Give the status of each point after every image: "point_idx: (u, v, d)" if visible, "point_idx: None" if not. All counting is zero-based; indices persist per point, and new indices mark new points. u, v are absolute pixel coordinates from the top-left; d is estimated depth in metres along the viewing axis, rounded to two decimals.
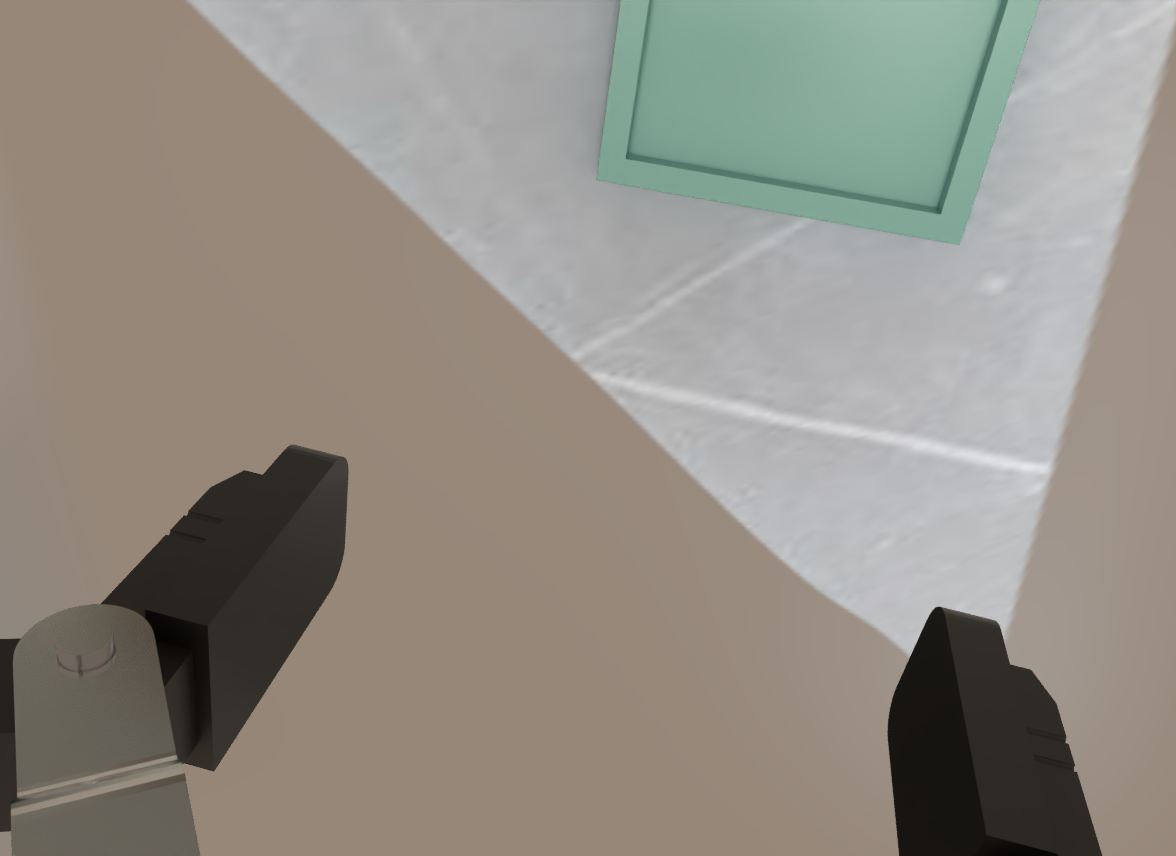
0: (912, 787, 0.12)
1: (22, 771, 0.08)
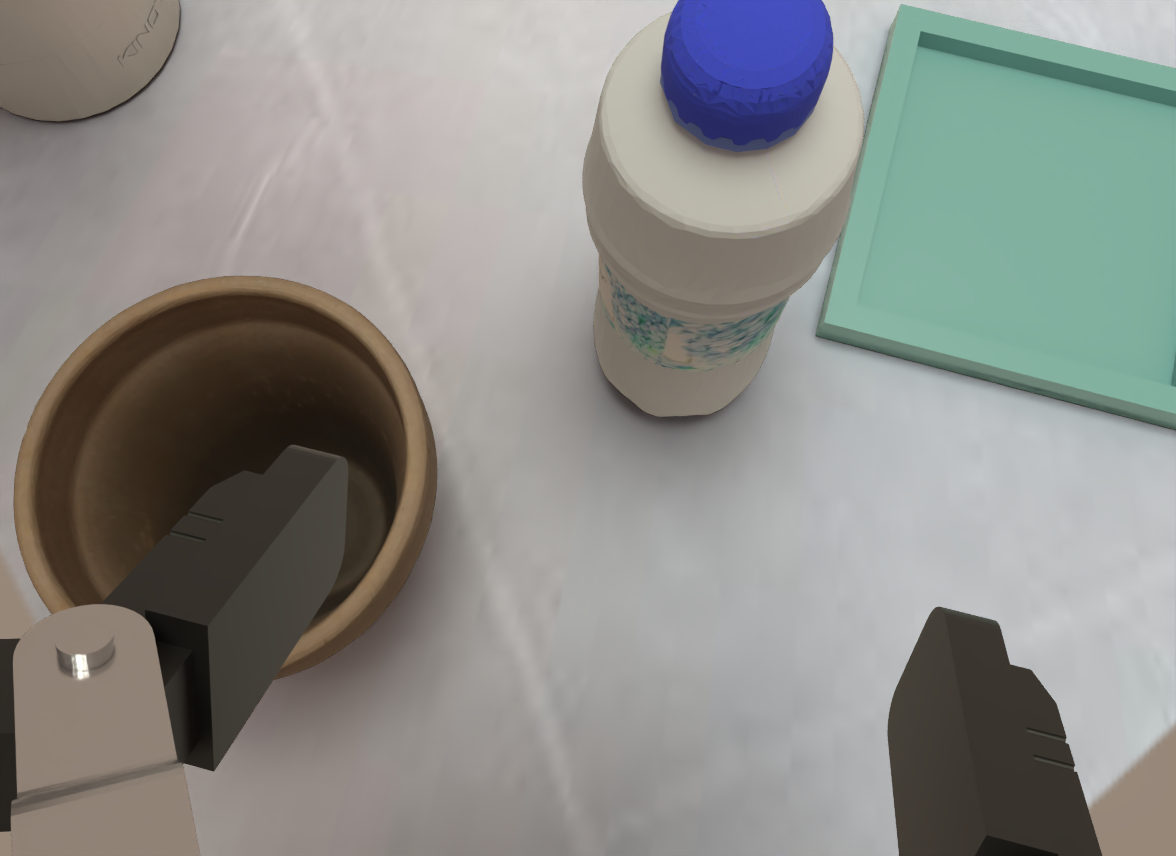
0: (912, 787, 0.12)
1: (21, 771, 0.08)
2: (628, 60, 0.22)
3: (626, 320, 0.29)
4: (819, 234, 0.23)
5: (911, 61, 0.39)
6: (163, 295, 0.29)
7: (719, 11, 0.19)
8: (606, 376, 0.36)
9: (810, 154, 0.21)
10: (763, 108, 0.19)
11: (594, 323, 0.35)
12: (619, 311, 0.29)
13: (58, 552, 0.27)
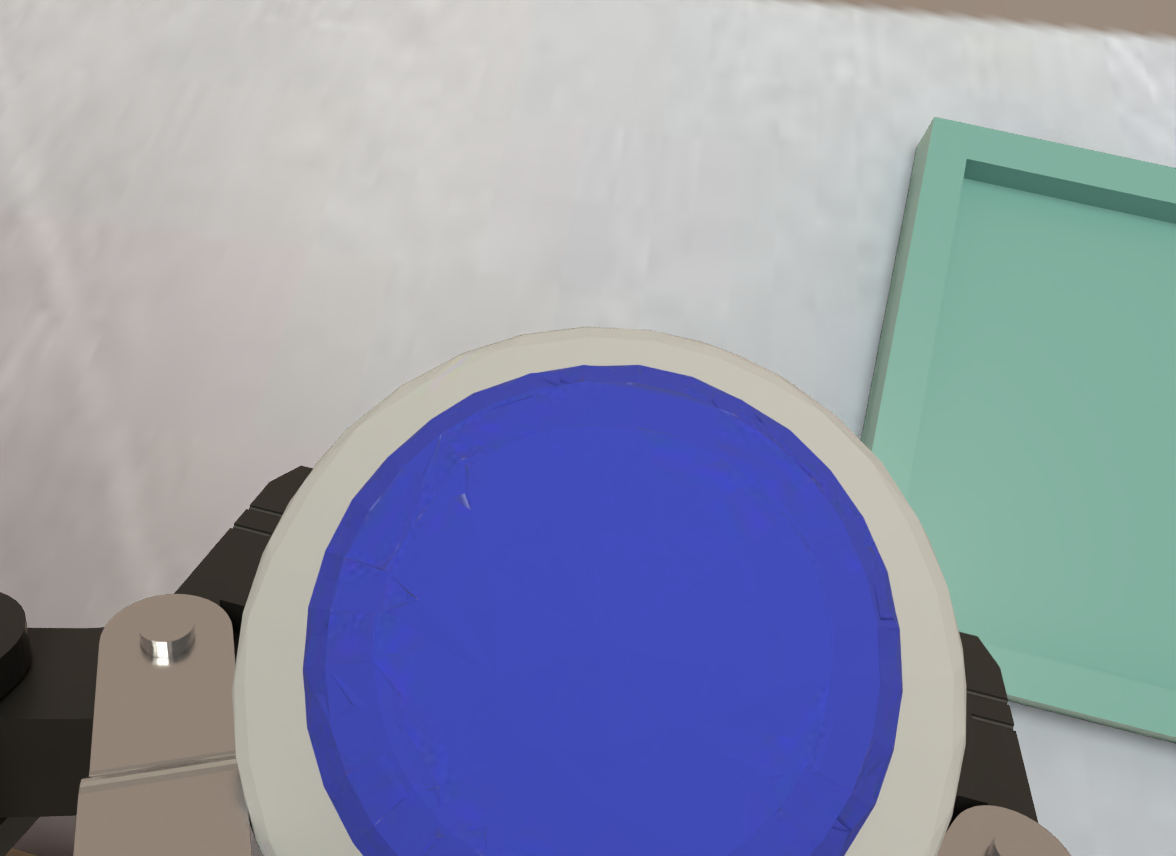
0: None
1: (96, 751, 0.09)
2: (309, 526, 0.08)
3: None
4: None
5: (954, 207, 0.25)
6: None
7: (461, 627, 0.05)
8: None
9: None
10: None
11: None
12: None
13: None
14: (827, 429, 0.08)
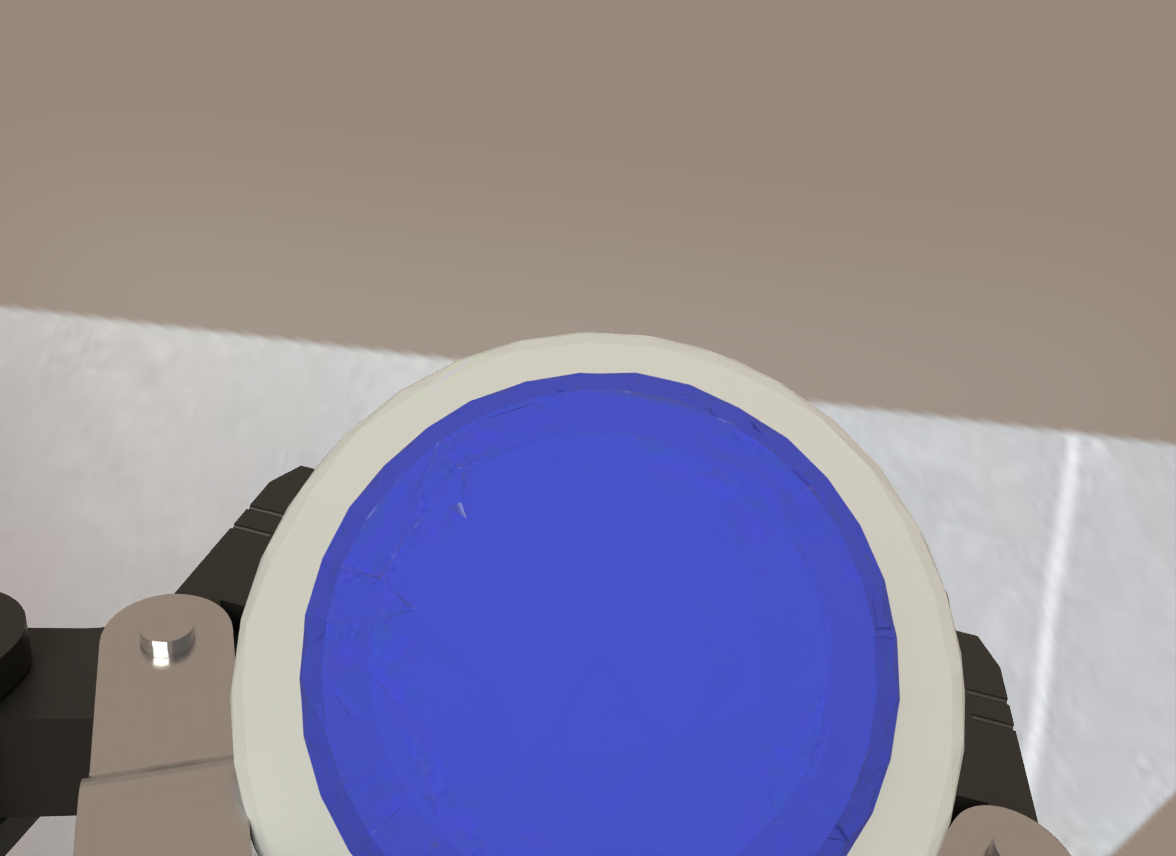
0: None
1: (96, 750, 0.09)
2: (307, 532, 0.08)
3: None
4: None
5: None
6: None
7: (454, 638, 0.05)
8: None
9: None
10: None
11: None
12: None
13: None
14: (825, 434, 0.08)
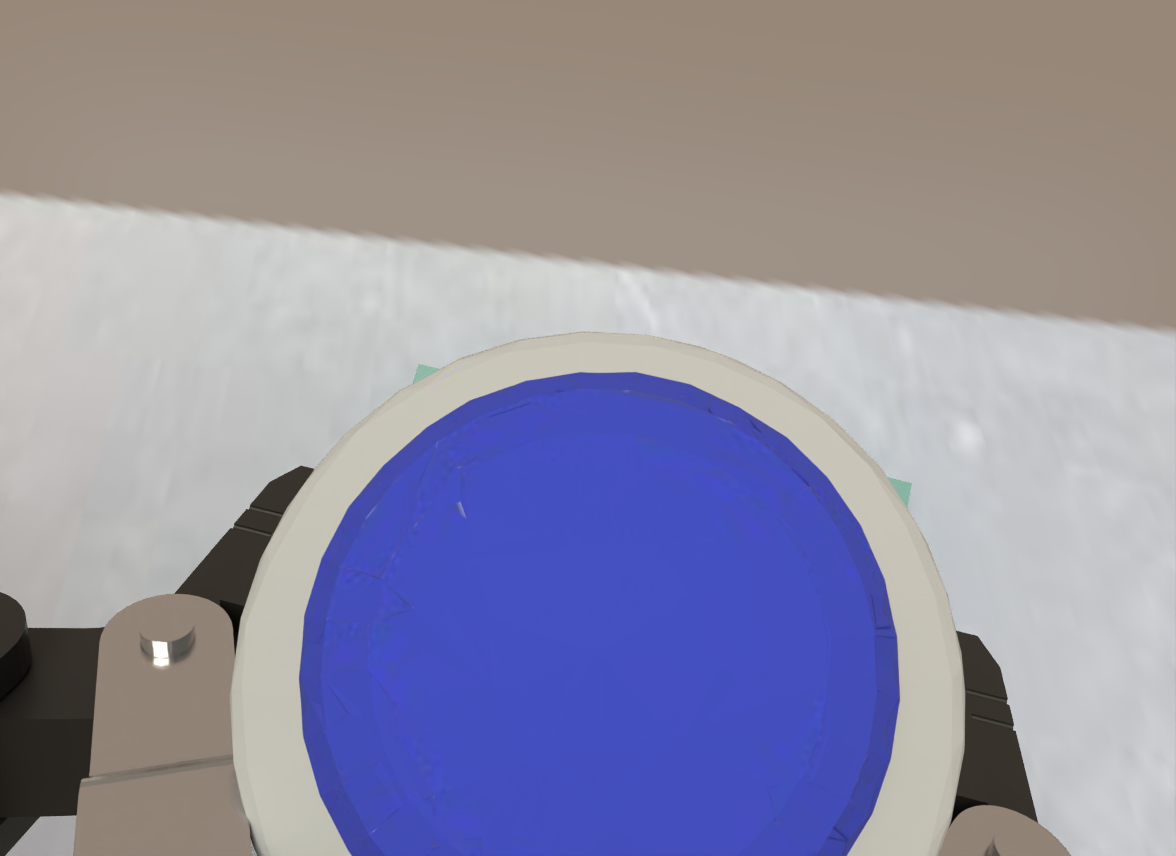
0: None
1: (96, 750, 0.09)
2: (307, 531, 0.08)
3: None
4: None
5: None
6: None
7: (454, 636, 0.05)
8: None
9: None
10: None
11: None
12: None
13: None
14: (825, 434, 0.08)
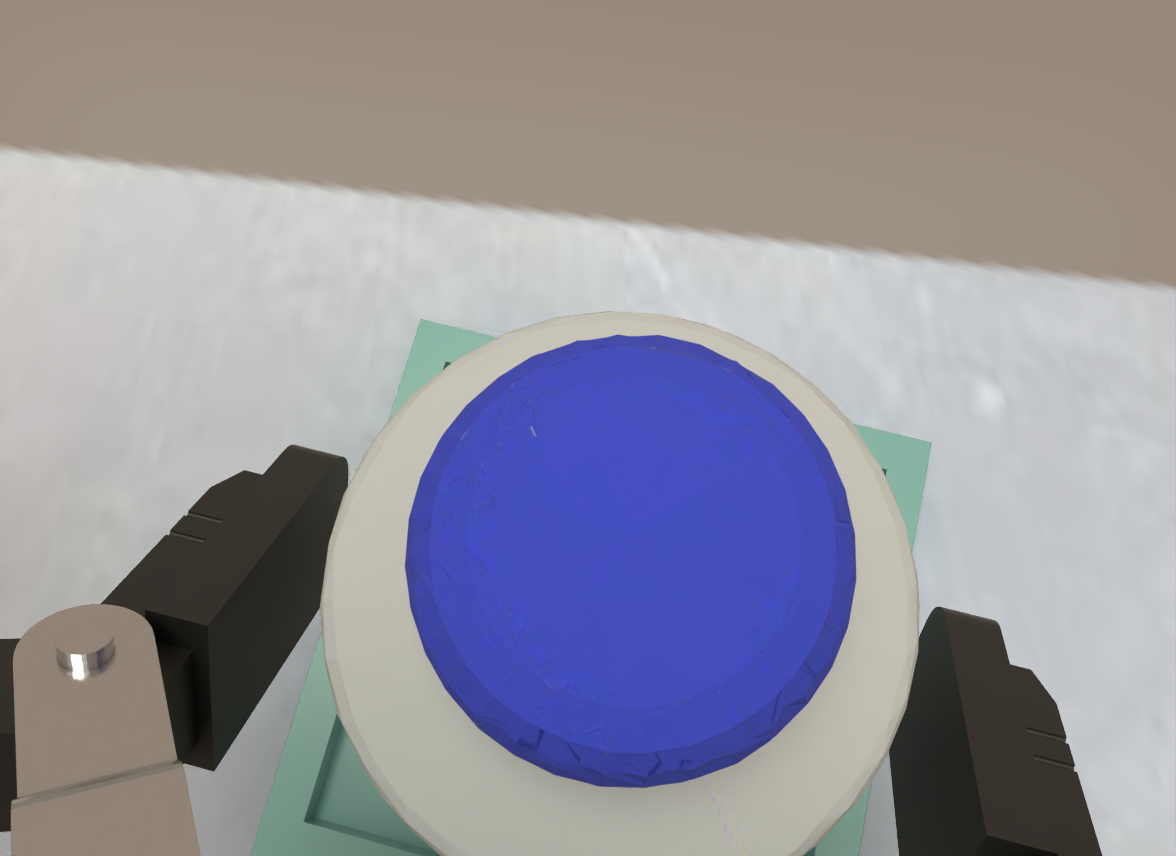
0: (912, 787, 0.12)
1: (21, 771, 0.08)
2: (384, 472, 0.10)
3: None
4: None
5: None
6: None
7: (530, 523, 0.07)
8: None
9: (800, 730, 0.09)
10: (667, 772, 0.07)
11: None
12: None
13: None
14: (808, 396, 0.10)
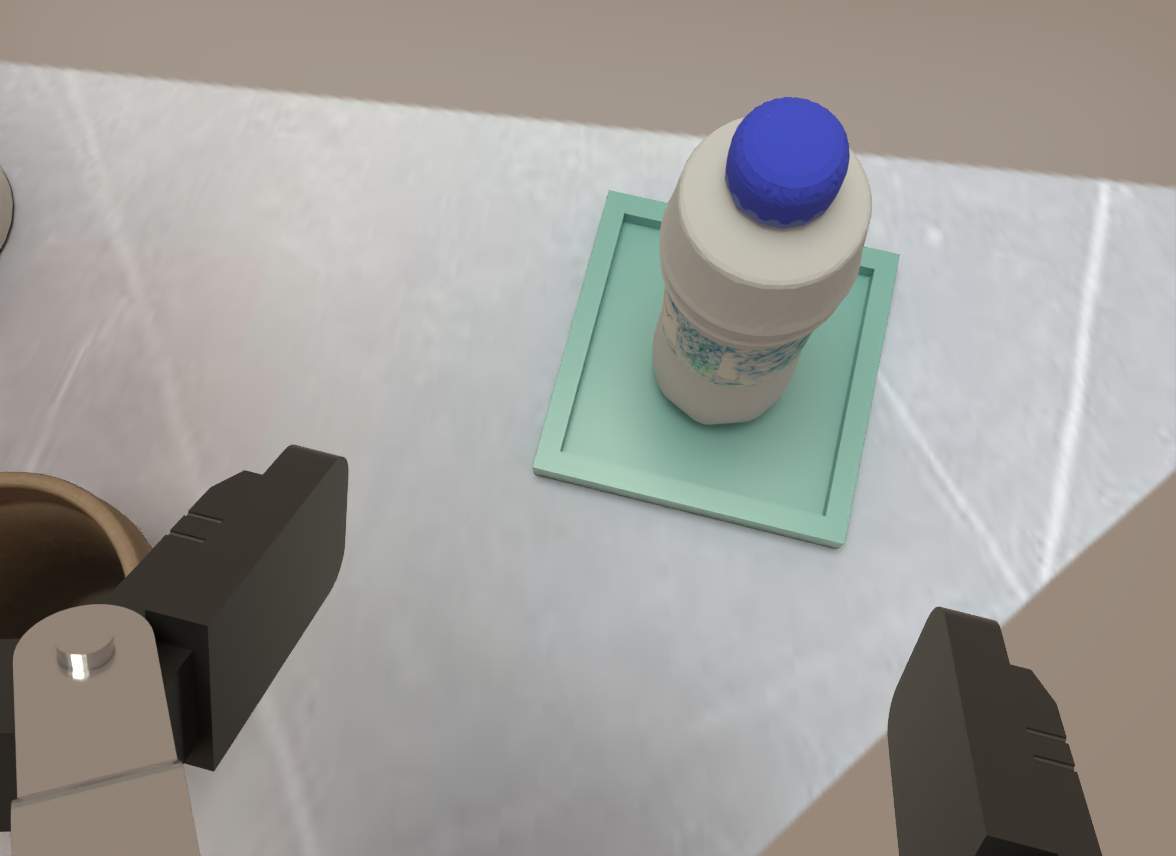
0: (912, 787, 0.12)
1: (21, 771, 0.08)
2: (698, 161, 0.30)
3: (688, 348, 0.37)
4: (841, 283, 0.31)
5: (615, 239, 0.47)
6: None
7: (769, 135, 0.27)
8: (663, 393, 0.44)
9: (834, 227, 0.29)
10: (802, 200, 0.27)
11: (654, 350, 0.43)
12: (682, 341, 0.37)
13: None
14: None
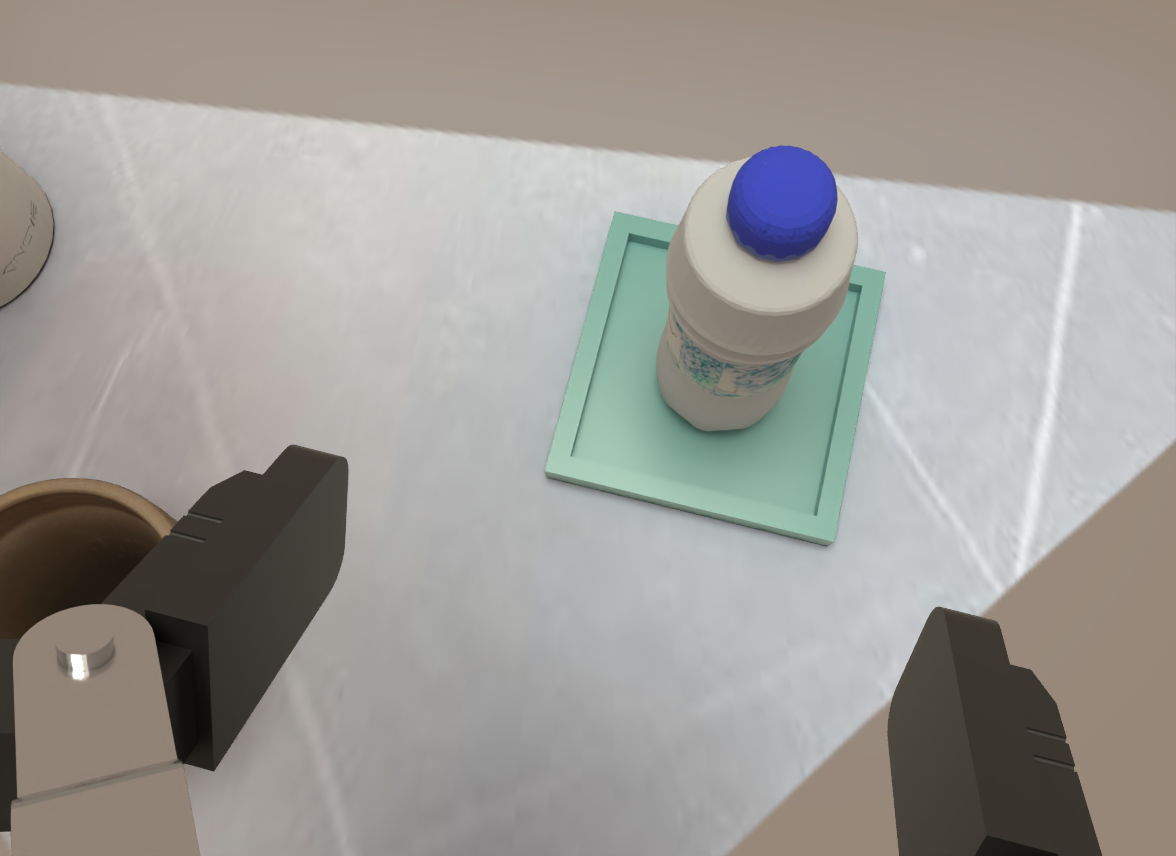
0: (912, 787, 0.12)
1: (21, 771, 0.08)
2: (701, 199, 0.34)
3: (691, 363, 0.41)
4: (830, 308, 0.34)
5: (620, 258, 0.51)
6: (9, 495, 0.39)
7: (766, 180, 0.31)
8: (666, 402, 0.48)
9: (824, 260, 0.33)
10: (795, 238, 0.31)
11: (658, 362, 0.46)
12: (685, 357, 0.41)
13: None
14: None
